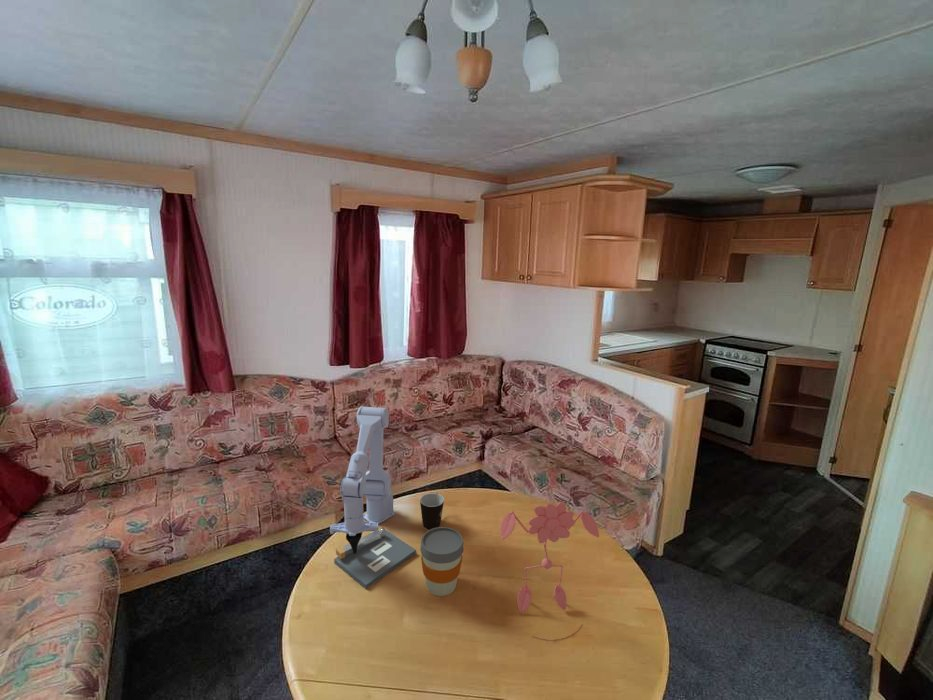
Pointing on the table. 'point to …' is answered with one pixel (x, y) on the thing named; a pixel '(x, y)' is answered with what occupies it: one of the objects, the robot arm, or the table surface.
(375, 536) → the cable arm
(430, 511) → the coffee mug
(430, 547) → the reusable coffee cup
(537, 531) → the figurine
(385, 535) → the label panel
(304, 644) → the table surface
